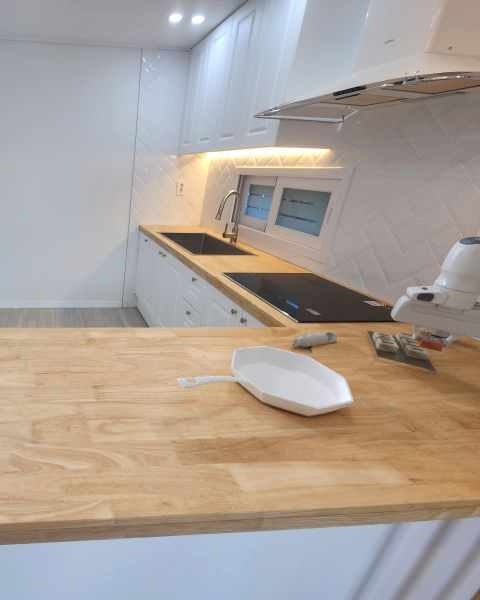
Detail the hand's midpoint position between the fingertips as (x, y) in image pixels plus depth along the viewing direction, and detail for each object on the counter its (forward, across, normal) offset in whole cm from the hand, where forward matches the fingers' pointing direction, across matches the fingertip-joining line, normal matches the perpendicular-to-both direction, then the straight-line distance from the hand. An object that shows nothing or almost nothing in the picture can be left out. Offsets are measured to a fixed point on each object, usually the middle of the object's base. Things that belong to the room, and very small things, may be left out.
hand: (429, 342), depth 95 cm
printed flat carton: (+7, 0, -11) cm, 13 cm away
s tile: (+1, 0, 0) cm, 1 cm away
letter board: (+8, +3, -8) cm, 11 cm away
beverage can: (+8, -11, -30) cm, 33 cm away
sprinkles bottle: (+8, -6, -25) cm, 27 cm away
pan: (+8, +39, +44) cm, 59 cm away
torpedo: (+8, +26, +5) cm, 28 cm away
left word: (+7, +7, -8) cm, 13 cm away
